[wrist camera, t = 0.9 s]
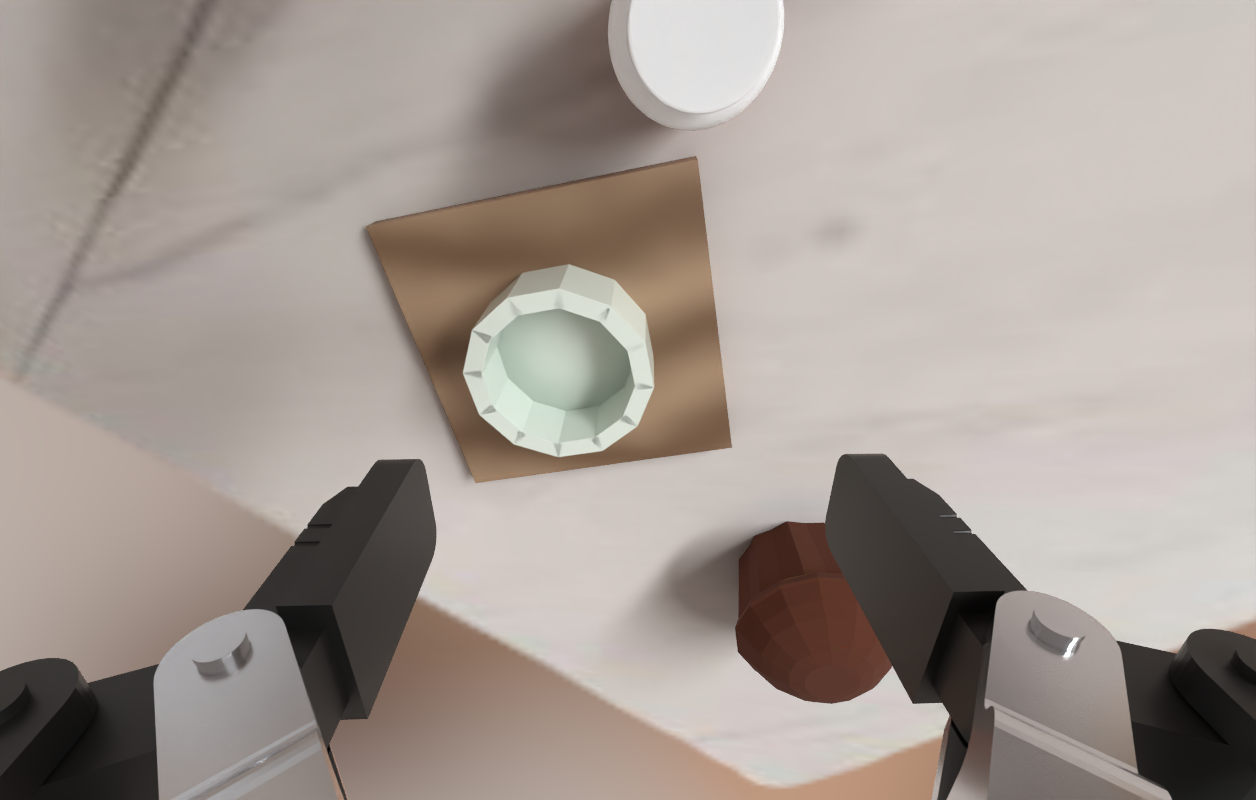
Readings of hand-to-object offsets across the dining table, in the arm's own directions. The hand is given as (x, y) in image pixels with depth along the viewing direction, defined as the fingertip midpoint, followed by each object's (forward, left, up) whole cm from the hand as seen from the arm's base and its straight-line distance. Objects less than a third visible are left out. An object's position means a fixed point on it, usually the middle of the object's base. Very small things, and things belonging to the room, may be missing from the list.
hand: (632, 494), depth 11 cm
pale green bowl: (+6, -6, -22) cm, 23 cm away
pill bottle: (-8, +3, -23) cm, 24 cm away
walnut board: (+6, -6, -23) cm, 24 cm away
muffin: (+28, +7, -23) cm, 37 cm away
